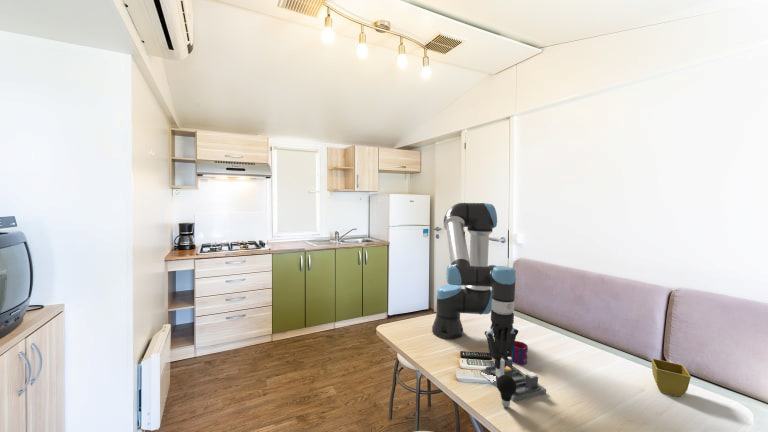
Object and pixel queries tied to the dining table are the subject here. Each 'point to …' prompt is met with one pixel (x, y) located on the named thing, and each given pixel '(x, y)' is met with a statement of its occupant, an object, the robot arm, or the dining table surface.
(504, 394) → the light bulb
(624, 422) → the dining table surface
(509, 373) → the block
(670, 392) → the flower pot
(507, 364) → the breaker
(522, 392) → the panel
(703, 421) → the dining table surface
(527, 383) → the breaker
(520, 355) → the mug
